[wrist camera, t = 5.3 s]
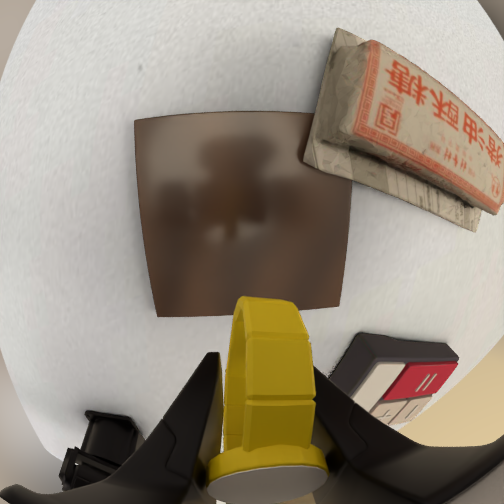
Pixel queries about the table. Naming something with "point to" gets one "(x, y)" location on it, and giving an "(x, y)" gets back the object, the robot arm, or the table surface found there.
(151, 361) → the table surface
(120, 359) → the table surface
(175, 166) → the coaster
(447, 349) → the calculator
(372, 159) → the packaged product
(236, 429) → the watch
